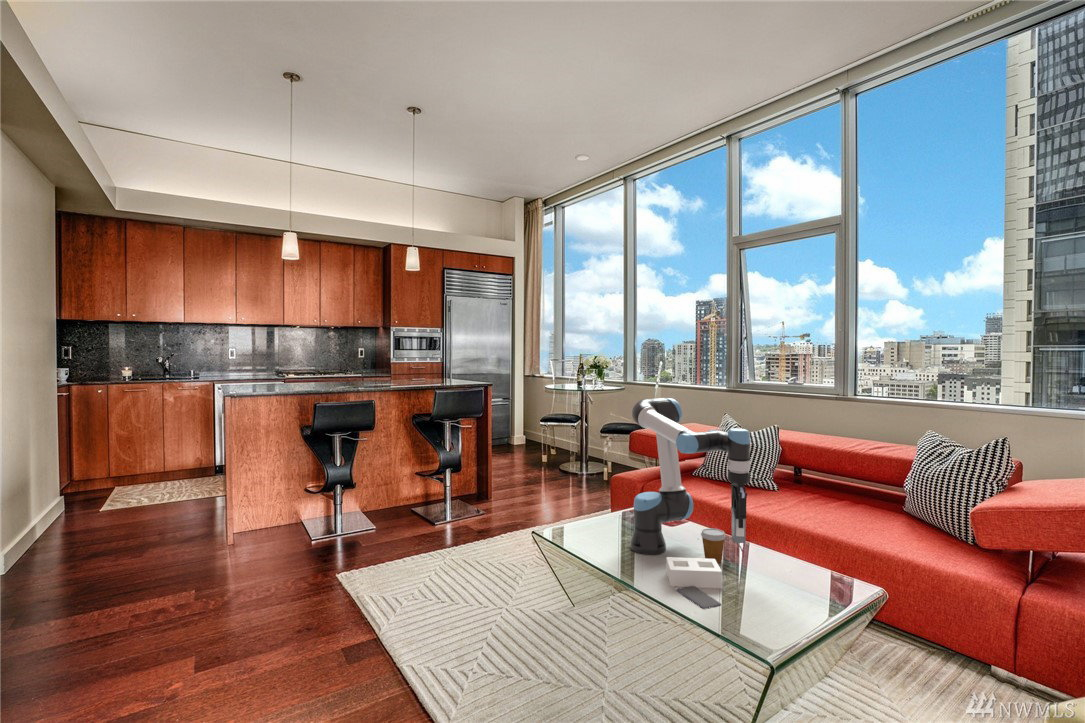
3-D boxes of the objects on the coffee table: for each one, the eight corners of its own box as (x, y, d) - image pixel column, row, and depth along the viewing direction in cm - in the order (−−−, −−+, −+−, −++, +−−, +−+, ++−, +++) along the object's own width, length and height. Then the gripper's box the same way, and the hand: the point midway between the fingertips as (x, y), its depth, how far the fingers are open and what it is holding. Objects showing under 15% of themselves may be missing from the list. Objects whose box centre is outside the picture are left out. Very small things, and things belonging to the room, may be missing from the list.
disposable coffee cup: (727, 566, 204) (727, 536, 204) (702, 565, 206) (702, 535, 206) (724, 557, 213) (723, 528, 213) (699, 556, 215) (699, 527, 215)
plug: (730, 538, 195) (731, 506, 194) (743, 539, 194) (743, 507, 194) (733, 542, 190) (733, 510, 190) (746, 543, 190) (746, 510, 190)
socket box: (666, 572, 199) (666, 556, 199) (714, 574, 197) (714, 558, 197) (670, 586, 187) (670, 569, 187) (722, 588, 185) (721, 571, 185)
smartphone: (703, 608, 170) (675, 588, 184) (703, 611, 170) (675, 591, 184) (722, 603, 173) (693, 585, 186) (722, 606, 173) (693, 587, 187)
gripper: (723, 465, 201) (722, 525, 201) (733, 476, 184) (733, 541, 184) (743, 466, 200) (742, 526, 200) (756, 476, 183) (755, 542, 183)
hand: (738, 533), depth 192 cm, fingers closed on plug, 4 cm apart
